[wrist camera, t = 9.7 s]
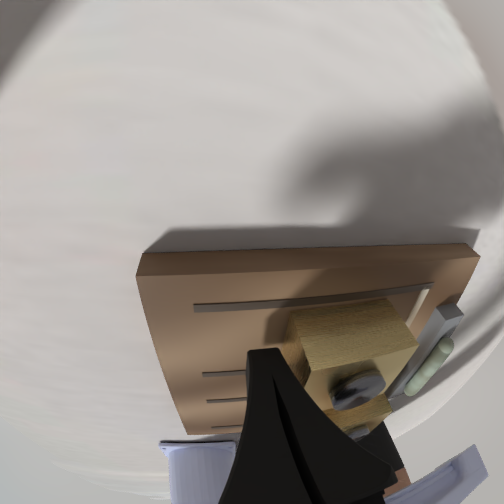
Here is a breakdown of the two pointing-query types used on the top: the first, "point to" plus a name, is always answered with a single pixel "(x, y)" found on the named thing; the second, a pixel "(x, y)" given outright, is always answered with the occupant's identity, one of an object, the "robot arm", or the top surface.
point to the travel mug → (386, 455)
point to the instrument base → (287, 312)
